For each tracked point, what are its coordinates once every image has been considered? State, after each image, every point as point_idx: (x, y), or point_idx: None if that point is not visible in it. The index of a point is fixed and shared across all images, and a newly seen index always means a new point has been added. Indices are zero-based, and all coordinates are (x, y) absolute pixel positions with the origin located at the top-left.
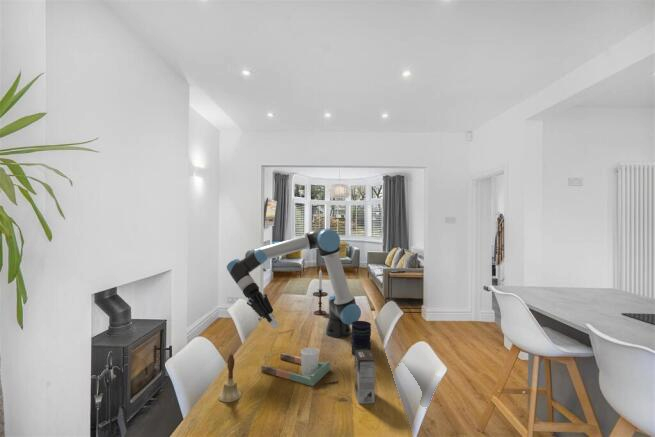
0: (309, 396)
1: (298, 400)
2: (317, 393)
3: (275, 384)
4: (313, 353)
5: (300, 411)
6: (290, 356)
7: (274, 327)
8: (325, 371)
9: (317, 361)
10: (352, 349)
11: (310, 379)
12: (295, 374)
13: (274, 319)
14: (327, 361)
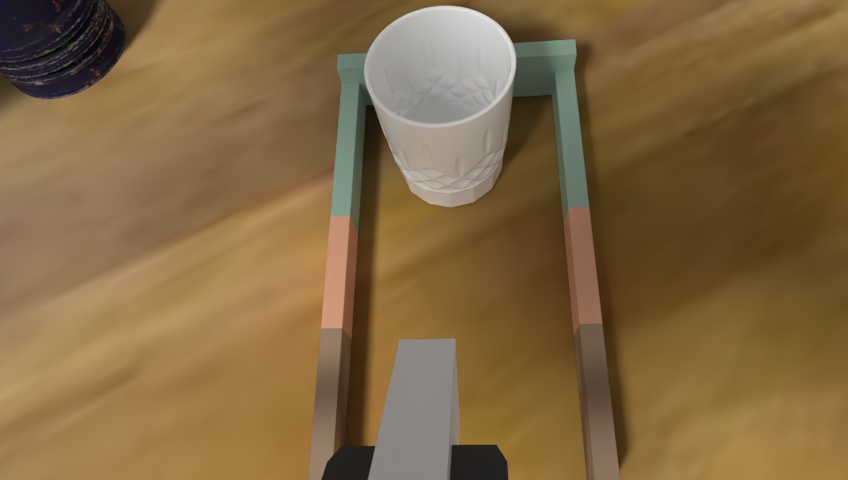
0: (665, 45)
1: (734, 67)
2: (615, 30)
3: (691, 266)
4: (379, 97)
5: (802, 14)
6: (340, 367)
7: (457, 402)
8: None
9: (441, 55)
10: (80, 55)
11: (573, 69)
12: (576, 169)
13: (411, 409)
14: (348, 63)
